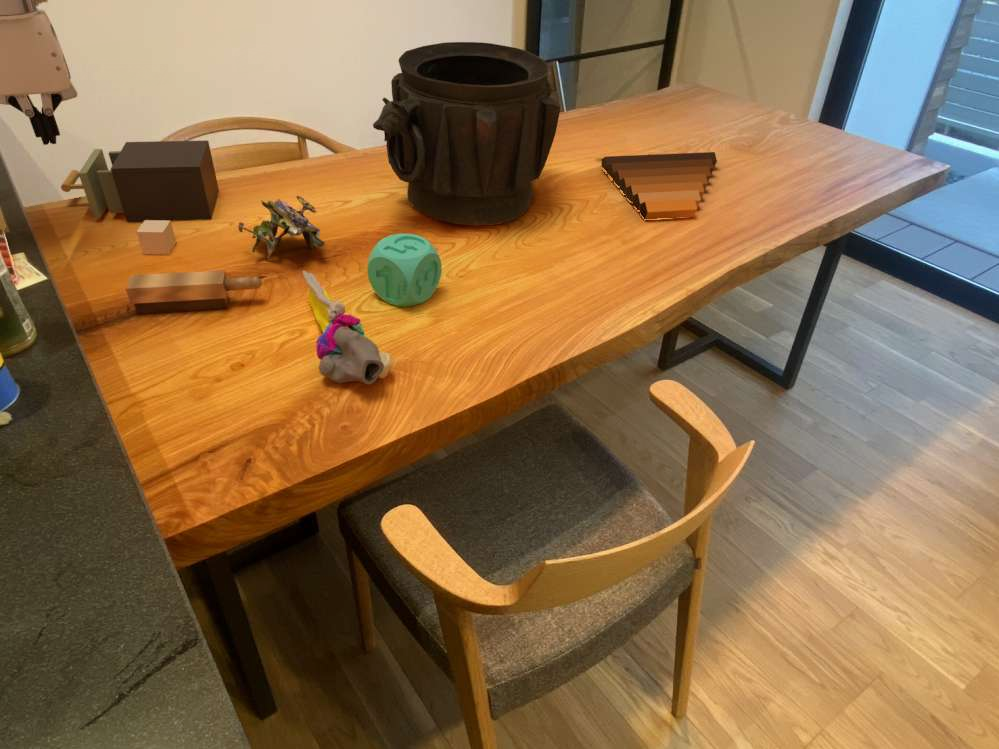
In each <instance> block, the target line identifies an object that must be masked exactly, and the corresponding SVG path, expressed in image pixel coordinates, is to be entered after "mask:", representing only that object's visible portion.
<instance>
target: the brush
mask: <svg viewBox="0 0 999 749" xmlns="http://www.w3.org/2000/svg"><path fill="white" fill-rule="evenodd" d="M262 285H263V284H262V279H260V277H258V276H240V277H228V276H227V272H226V269H223V270H206V271H205V270H204V271H203V270H202V271H201V270H200V271H184V272H165V273H145V274H131V275H130V277H129V279H128V281H127V284H126V287H125V292H126V294H127V297H128V299H129V303H130V304H131V305H133V306H134V308H135V311H136V314H137V315H151V314H163V313H164V314H165V313H181V312H197V311H200V312H201V311H213V310H215V311H216V310H227V309H228V304H229V299H230V296H229V293H228V291H229V292H231V291H246V290H249V291H250V290H257V289H260V288H261V287H262Z"/></svg>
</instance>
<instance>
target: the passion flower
mask: <svg viewBox="0 0 999 749" xmlns="http://www.w3.org/2000/svg"><path fill="white" fill-rule="evenodd" d="M296 199H297V200H298V202H299V203H300V204H301V205H302V208H301V210H296V209H295V208H293V207H292V206H291V205H289V204H288V202H284V201H282V200H280V199H279V198H277V199H276V200H274V201H273V200H268V201H267V202H265V200H264V198H263V197H262V198H261V199H260V201H261V205H262V206H263V207H264V208H265V209H267V210H268V211H269V213H270V220H262V221H261V223H260V225H255V226H254V227H253V230H251V229H248V228H246V227H244V226H245V223H244V222H242V221H240V222H238V231H239V232H240V233H243V230H244V231H247V232H249V233H251V234H252V236H251V238H252V239H256V240H255V243H254V244H253V246H252V254H253V253H255V251H256V249H257V247H258V246H259V245H260V243H261V242H262V241H265V242H266V249H267V257H266V259H265V261H266V262H268V261H269V260H270V257H271V255H272V254H273V253H274V252H275V251H276V250H277V249H278V247H279V243H280V241H281V240H282V238H283V237H284V236H285V235H287V234H288V235H289V236H290V237H292V238H293V237H294V236H295V237H296V236H300V235H302V237H303V239H304V241H305V244H306V245H307V246H308V248H310V249H312V250H315V251H318V250H319V248H318V247H323V246H324V245H325V243H326V242H325V241H323V240H322V239H320V235H321V229H320V228H318V227H316V226H314V224H312V223H311V222H310V220H309V218H308V217H306V216H305V215H304V212H306V211H310V212H311V213H314V214H315V213H318V211H317V210H316V208H315V207H314V206H313V205H312V204H311V202H309V201H307V200H306V199H305V198H303V197H302V196H300V195H296ZM278 228H280V229H282V230H283V231H282V232H281V233H280V235H278V236H277V233H278V230H279V229H278ZM276 236H277V237H276ZM266 237H268V239H267V238H266ZM269 239H270V240H269ZM317 246H318V247H317Z"/></svg>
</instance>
